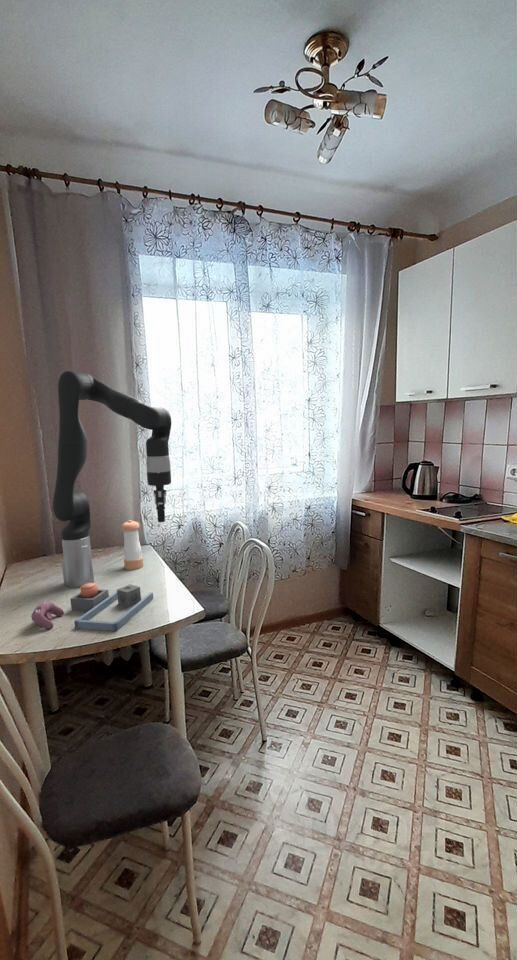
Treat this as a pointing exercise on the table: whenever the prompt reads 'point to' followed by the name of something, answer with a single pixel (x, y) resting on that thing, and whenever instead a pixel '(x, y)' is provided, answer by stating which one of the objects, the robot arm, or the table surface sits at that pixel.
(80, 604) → the button housing
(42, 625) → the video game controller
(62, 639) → the table surface
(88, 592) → the button
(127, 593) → the gray cube
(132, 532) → the pepper shaker
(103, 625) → the track
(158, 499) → the robot arm
